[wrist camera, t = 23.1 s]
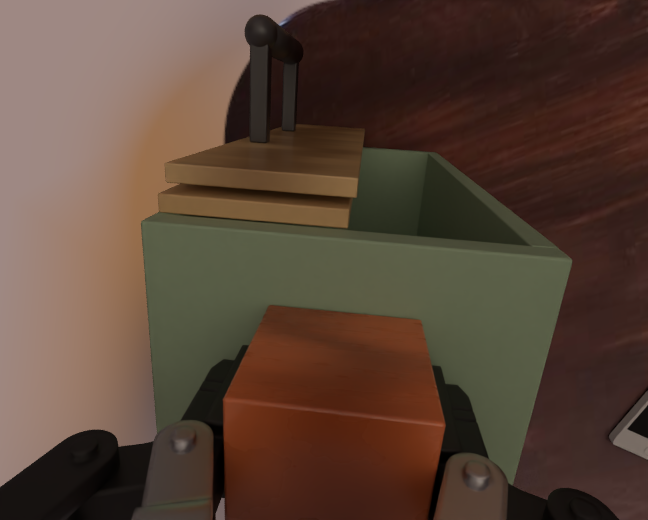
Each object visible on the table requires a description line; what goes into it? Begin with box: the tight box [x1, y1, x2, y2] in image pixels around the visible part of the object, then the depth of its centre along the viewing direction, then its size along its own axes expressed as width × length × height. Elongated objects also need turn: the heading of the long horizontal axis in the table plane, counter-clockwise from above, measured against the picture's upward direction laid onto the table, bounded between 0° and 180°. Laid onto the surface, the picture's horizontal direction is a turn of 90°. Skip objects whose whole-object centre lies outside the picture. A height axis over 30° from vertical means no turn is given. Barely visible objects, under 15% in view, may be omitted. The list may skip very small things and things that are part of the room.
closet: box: [141, 147, 572, 485], centre depth 26 cm, size 12×10×26 cm
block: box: [223, 305, 446, 520], centre depth 12 cm, size 4×4×4 cm
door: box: [165, 15, 365, 198], centre depth 24 cm, size 6×6×24 cm
